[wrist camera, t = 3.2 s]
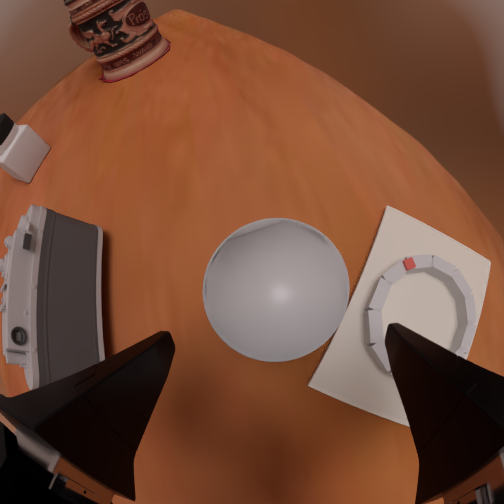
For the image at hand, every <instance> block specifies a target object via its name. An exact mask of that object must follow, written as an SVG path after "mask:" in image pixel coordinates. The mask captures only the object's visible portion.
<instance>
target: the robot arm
mask: <svg viewBox="0 0 504 504" xmlns="http://www.w3.org/2000/svg"><path fill="white" fill-rule="evenodd" d="M385 347H386V351H387V356H388V360H389V364H390V369H391V372H392V375H393V378H394V381H395V384H396V387H397V389H398V392H399V395H400V398H401V401H402V404H403V407H404V410H405V413H406V416H407V419H408V423H409V426H410V429H411V433H412V436H413V439H414V443H415V446H416V450H417V453H418V458H419V475H418V485H417V493H416V500H415V504H426V503H429V502H431V501H434V500H437V499H440V498H442V497H443V499H444V504H504V377H503V376H501V375H499V374H496V373H494V372H492V371H489V370H487V369H485V368H483V367H480V366H478V365H476V364H474V363H472V362H470V361H468V360H466V359H464V358H462V357H461V356H457V355H456V354H455V353H453V352H451V351H449V350H447V349H445V348H444V347H442V346H440V345H438V344H436V343H434V342H433V341H431V340H429V339H427V338H425V337H423V336H422V335H420V334H418V333H416V332H414V331H412V330H411V329H409V328H407V327H405V326H403V325H401V324H399V323H390V324H389V325H388V327H387V331H386V335H385ZM174 353H175V344H174V341H173V339H172V336H171V334H170V332H168V331H160V332H158V333H156V334H154V335H152V336H150V337H148V338H146V339H144V340H142V341H140V342H138V343H136V344H134V345H133V346H131V347H129V348H127V349H125V350H123V351H121V352H119V353H117V354H115V355H113V356H111V357H109V358H107V359H105V360H103V361H101V362H99V363H98V364H97V363H96V364H94V365H92V366H90V367H88V368H86V369H84V370H82V371H79V372H77V373H75V374H72V375H70V376H67V377H65V378H62V379H60V380H57V381H54V382H52V383H49V384H47V385H44V386H41V387H39V388H36V389H33V390H31V391H28V392H25V393H23V394H20V395H17V396H14V397H10V398H9V397H5V396H4V395H2V394H0V413H1V414H2V415H3V416H4V417H5V418H6V419H7V420H8V421H9V422H10V423H11V424H12V425H13V426H14V427H15V428H16V431H15V432H14V433H12V432H11V431H10V430H9V429H8V428H7V427H6V426H5V425H4V424H3V423H1V422H0V504H113V503H112V498H113V496H114V494H116V495H119V496H121V497H124V498H126V499H129V500H132V501H135V498H136V497H135V483H134V457H135V454H136V451H137V449H138V446H139V444H140V441H141V439H142V436H143V434H144V432H145V429H146V427H147V424H148V422H149V419H150V417H151V415H152V412H153V410H154V407H155V405H156V403H157V400H158V398H159V396H160V393H161V391H162V388H163V386H164V384H165V381H166V379H167V376H168V373H169V370H170V367H171V363H172V360H173V356H174Z"/></svg>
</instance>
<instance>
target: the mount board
mask: <svg viewBox="0 0 504 504" xmlns="http://www.w3.org/2000/svg"><path fill="white" fill-rule="evenodd" d="M490 265H491V261H489V260H488V259H486V258H484V257H483V256H481V255H479V254H478V253H476V252H475V251H473V250H471V249H470V248H468V247H466V246H464V245H463V244H461V243H459V242H457V241H456V240H454V239H452V238H450V237H449V236H447V235H445V234H443V233H441V232H440V231H438V230H436V229H434V228H432V227H430V226H428V225H426V224H424V223H422V222H421V221H419V220H417V219H415V218H413V217H411V216H409V215H407V214H405V213H403V212H400V211H398V210H396V209H394V208H392V207H390V206H388V205H387V207H386V209H385V211H384V214H383V217H382V220H381V223H380V226H379V228H378V231H377V234H376V237H375V240H374V242H373V245H372V248H371V250H370V253H369V255H368V258H367V261H366V263H365V266H364V268H363V271H362V273H361V275H360V278H359V280H358V283H357V285H356V287H355V290H354V292H353V294H352V297H351V299H350V301H349V303H348V305H347V309H346V312H345V314H344V317H343V319H342V321H341V323H340V325H339V326H338V328H337V329H336V331H335V333H334V335H333V337H332V339H331V341H330V343H329V345H328V347H327V349H326V351H325V353H324V355H323V357H322V359H321V361H320V362H319V364H318V366H317V368H316V370H315V372H314V374H313V375H312V377H311V379H310V381H309V383H308V384H307V385H308V386H309V387H311V388H313V389H316V390H318V391H320V392H322V393H324V394H327V395H329V396H331V397H333V398H336V399H338V400H340V401H343V402H345V403H348V404H350V405H352V406H355V407H357V408H360V409H362V410H365V411H367V412H370V413H373V414H375V415H378V416H380V417H383V418H386V419H389V420H391V421H394V422H397V423H400V424H403V425H406V426H409V423H408V419H407V416H406V413H405V410H404V407H403V404H402V401H401V398H400V395H399V392H398V389H397V387H396V384H395V381H394V378H393V375H392V372H391V369H390V364H389V360H388V356H387V351H386V347H385V335H386V331H387V327H388V325H389V324H390V323H399V324H401V325H403V326H405V327H407V328H409V329H411V330H412V331H414V332H416V333H418V334H420V335H422V336H423V337H425V338H427V339H429V340H431V341H433V342H434V343H436V344H438V345H440V346H442V347H444V348H445V349H447V350H449V351H451V352H453V353H455V354H456V355H457V356H461V357H462V358H464V359H467V357H468V354H469V351H470V348H471V345H472V342H473V339H474V335H475V332H476V329H477V325H478V322H479V318H480V314H481V310H482V306H483V302H484V297H485V293H486V288H487V283H488V277H489V271H490ZM409 427H410V426H409Z"/></svg>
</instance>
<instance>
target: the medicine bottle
mask: <svg viewBox="0 0 504 504" xmlns="http://www.w3.org/2000/svg"><path fill="white" fill-rule="evenodd" d="M50 148H51V147H50V146H49V145H48V144H47V143H46V142H45V141H44V140H43V139H42V138H41V137H40V136H39V135H37V134H36V133H35V132H34V131H33V130H32V129H31V128H30V127H29V126H28V125H19V126H17V125H16V124H15V123H14V122H13V121H12V120H11V119H10V118H9V117H8V116H7V115H6V114H5V113H3V114H1V115H0V167H1V168H2V169H4V170H5V171H6V172H7V173H9V174H10V175H11V176H13V177H14V178H15V179H18V180H20V181H23V182H26V183H30V182H31V180H32V178H33V177H34V175H35V173H36V171H37V170H38V168H39V166H40V165H41V163H42V161H43V160H44V158H45V157H46V155H47V153H48V152H49V150H50Z"/></svg>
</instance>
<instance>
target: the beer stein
mask: <svg viewBox="0 0 504 504" xmlns="http://www.w3.org/2000/svg"><path fill="white" fill-rule="evenodd" d="M64 2H65V3H64V4H65V5H66V6H68V7H69V12H70V14H71V16H70V19H71V20H70V22H69V27H68V28H69V34H70V35H71V37H72V39H73V40H74V41H75V42H76V44H77V45H79V46H80V47H81V48H84V49H85V50H87V51H90V52H94V53H95V55H96V61H97V62H98V63H100V65H101V66H102V69H103V71H104V73H103V75H101V76H102V77H101V78H99V80H100V79H104V80H102V81H106V82H107V81H108V82H113V81H115V82H116V81H118V80H121V79H124V78H127V77H129V76H131V75H133V74H135V73H137V72H139V71H140V70H142V69H144V68H146V67H147V66H149V65H151V64H152V63H153V62H155V61H157V59H159V58H160V57H161V56H163V55H164V54H165V53H166V52H167V51H169V49H170V42H169V41H168V40H167V39H165V38H163V37H162V36H161V34H160V33H159V31H158V26H157V24H155V23H154V22H153V20H152V17H151V16H150V14H149V11H148V9H147V6H146V4H145V3H144V2H143V0H64Z"/></svg>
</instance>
